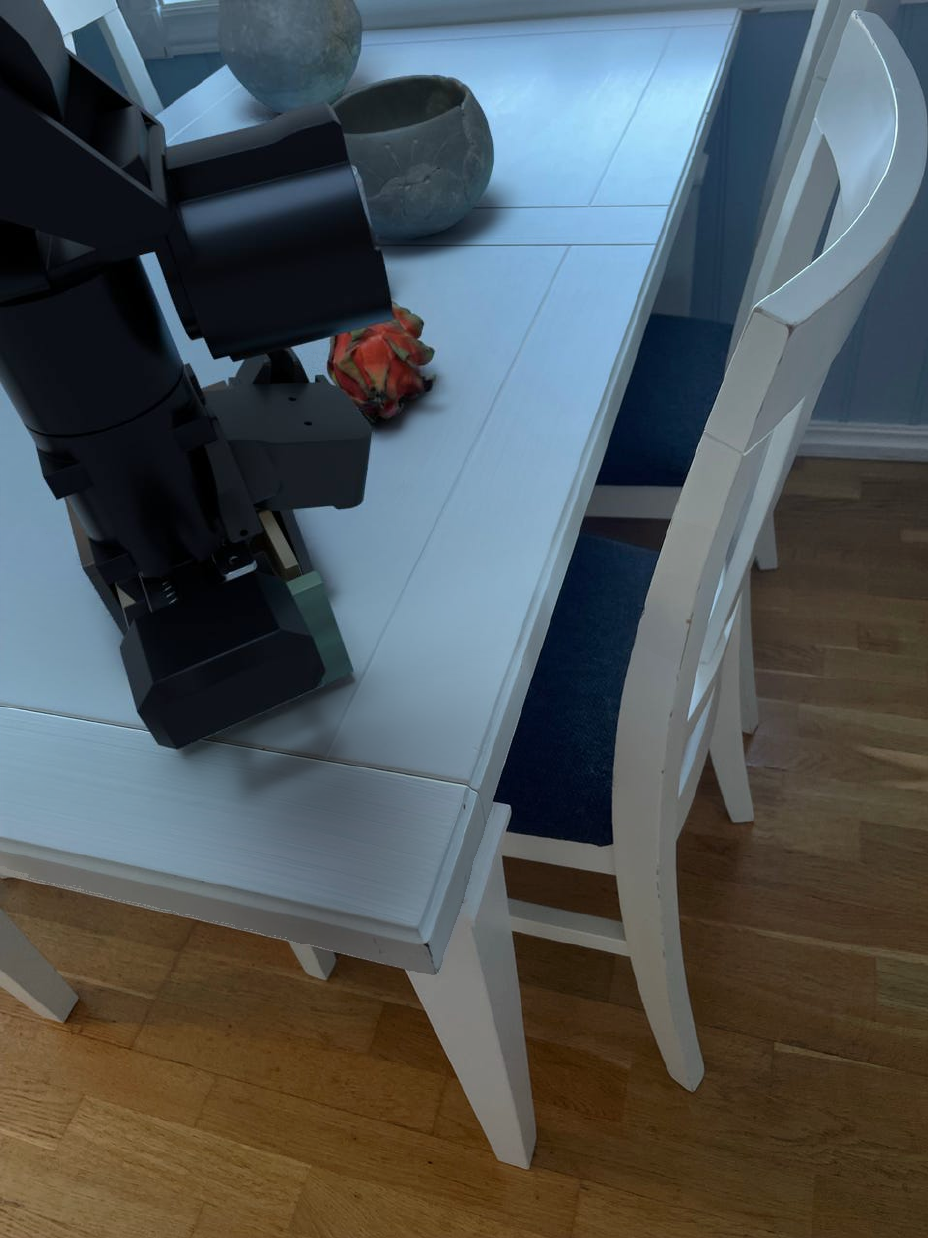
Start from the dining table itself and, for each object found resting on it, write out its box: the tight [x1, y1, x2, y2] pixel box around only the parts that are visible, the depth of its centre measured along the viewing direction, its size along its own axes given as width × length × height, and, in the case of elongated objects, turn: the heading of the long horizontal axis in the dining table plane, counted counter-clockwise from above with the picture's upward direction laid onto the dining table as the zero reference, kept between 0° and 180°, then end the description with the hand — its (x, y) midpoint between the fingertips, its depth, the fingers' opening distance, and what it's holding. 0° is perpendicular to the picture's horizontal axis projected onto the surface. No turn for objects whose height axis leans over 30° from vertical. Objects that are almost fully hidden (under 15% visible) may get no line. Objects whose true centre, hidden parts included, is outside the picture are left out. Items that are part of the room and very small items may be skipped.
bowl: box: [330, 74, 495, 240], centre depth 97 cm, size 18×18×13 cm
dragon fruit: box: [326, 300, 438, 424], centre depth 77 cm, size 8×8×12 cm
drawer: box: [115, 509, 355, 750], centre depth 57 cm, size 18×11×8 cm, turn 25°
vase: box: [216, 0, 363, 115], centre depth 124 cm, size 20×19×25 cm
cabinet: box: [63, 379, 315, 638], centre depth 64 cm, size 15×13×10 cm
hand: (242, 675), depth 44 cm, fingers closed
